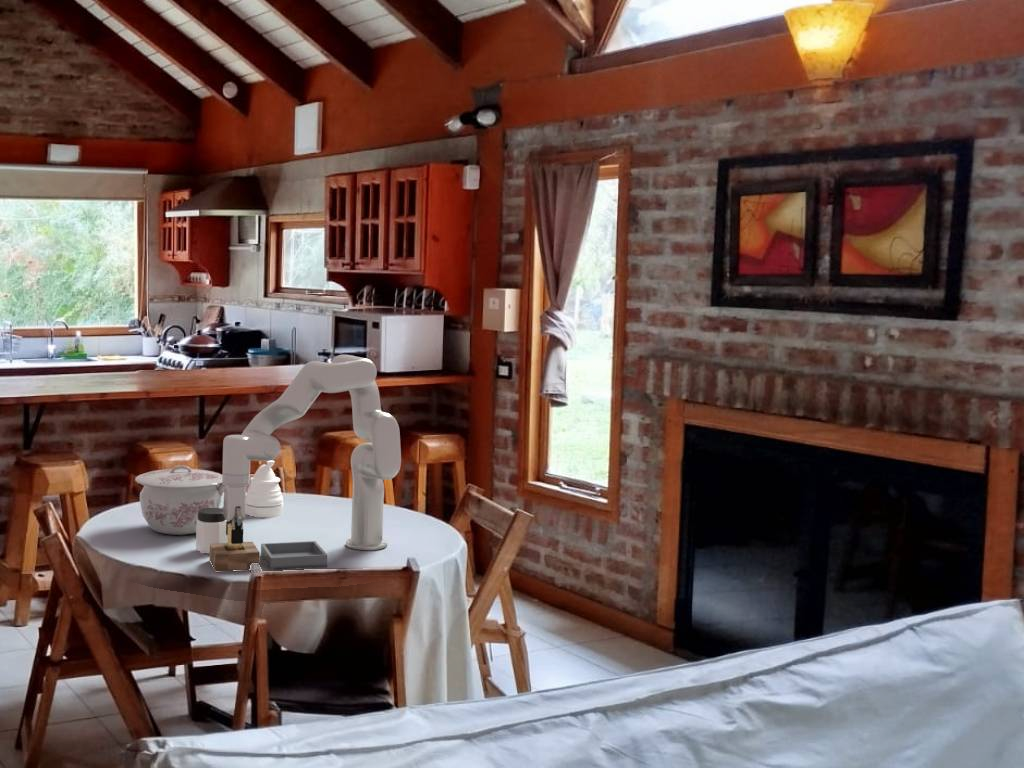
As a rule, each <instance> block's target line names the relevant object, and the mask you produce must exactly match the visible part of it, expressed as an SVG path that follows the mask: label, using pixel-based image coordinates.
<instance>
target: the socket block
mask: <svg viewBox="0 0 1024 768" xmlns="http://www.w3.org/2000/svg"><path fill="white" fill-rule="evenodd" d="M260 556H261V551H260V550H259V549H258V548H257V546H256V545H255V543H254V542H253V541H243V543H242V550H233V551H227V543H214V544H210V554H209V562H210V561H211V563H212V565H213V567H214V569H215V571H230V572H234V571H233V570H248V571H250V570H249V569H250V565H251V564H252V563H259V564H260ZM211 563H210V564H211ZM212 565H211V566H212ZM213 567H212V568H213ZM214 569H213V570H214ZM215 571H214V572H215Z"/></svg>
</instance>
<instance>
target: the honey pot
mask: <svg viewBox="0 0 1024 768" xmlns="http://www.w3.org/2000/svg"><path fill="white" fill-rule="evenodd" d="M275 461H276V460H271V461H266V464H265V463H264V464H262V465H260V466H259V467H258V469H257V470H256V471H255V473H254V475H253V476H252V477H250V485H248V488H247V491H246V507H245V514H247V515H250V516H249V517H251V516H254V517H253V518H260V517H262V519H264V518H263V517H265V518H266V519H267V518H275V517H280V516H282V515H283V514H284V497H283V495H282V494H283V493H282V491H281V490H282V489H281V487H280V485H279V482H281V478H280V477H278V476H276V475H275V472H274V471H273V469H272V467H273V466H274V465H275ZM247 515H246V516H247Z"/></svg>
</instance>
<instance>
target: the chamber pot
mask: <svg viewBox="0 0 1024 768" xmlns="http://www.w3.org/2000/svg"><path fill="white" fill-rule="evenodd" d="M134 479H135V482H136V483H138V484H140V485H142V486H143V487H142V490H141V491H140V492H139V503H140V508H141V513H142V517H143V518H144V520H145V521H146V523H147V525H148V526H149V528H150V529H152V530H153V531H155V532H157V533H159V534H163V533H164V534H163V535H167V534H171V535H170V536H187V535H186V534H191V535H195V534H194V533H196V522H197V519H198V511H199V510H200V509H204V508H222V509H223V506H222V507H221V504H222V496H224V488H225V486H224V485H222V474H221V473H219V472H215V471H211V470H206V469H200V468H199V469H198V468H190V466H187V465H179V464H178V465H176V466H173V467H172V468H168V469H167V468H166V469H158V470H152V471H148V472H145V473H141V474H139V475H138V476H136V477H135V478H134Z"/></svg>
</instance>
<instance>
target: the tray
mask: <svg viewBox="0 0 1024 768" xmlns="http://www.w3.org/2000/svg"><path fill="white" fill-rule="evenodd" d="M260 556H261V558H262V559H263V561H264V562H265V563H266V565H267V567H268V568H269V570H270V571H276V570H277V571H280V570H281V571H282V569H283V570H297V569H296V568H301V569H314V568H315V569H316V568H328V558H329V557H328V554H327V553H326V551H324V549H323V547H321V545H320V544H319V543H318V542H317V541H315V540H311V541H307V540H306V541H292V542H289V541H287V542H269V543H260Z"/></svg>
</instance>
